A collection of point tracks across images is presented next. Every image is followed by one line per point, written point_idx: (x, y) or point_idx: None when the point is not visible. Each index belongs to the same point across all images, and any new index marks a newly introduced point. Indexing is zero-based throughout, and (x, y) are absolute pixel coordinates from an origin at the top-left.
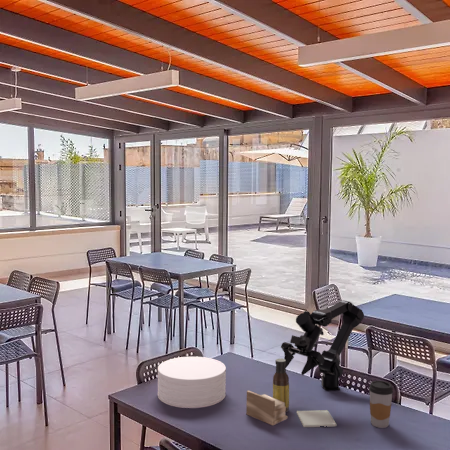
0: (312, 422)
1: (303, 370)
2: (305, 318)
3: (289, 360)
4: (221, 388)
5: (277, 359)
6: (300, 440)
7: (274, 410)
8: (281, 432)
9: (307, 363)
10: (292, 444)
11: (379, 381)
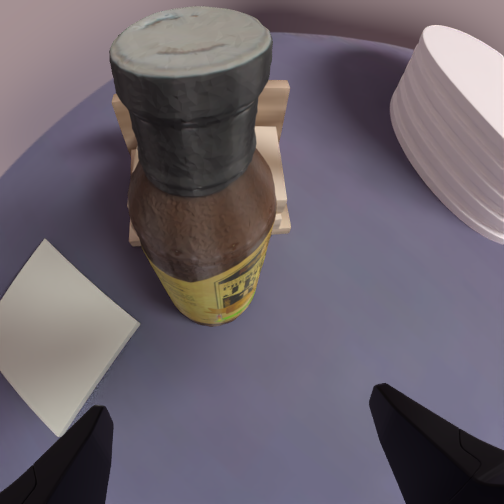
0: (32, 281)
1: (75, 430)
2: None
3: (420, 499)
4: (437, 142)
5: (244, 25)
6: (26, 173)
7: (122, 133)
8: (89, 159)
9: (21, 497)
10: (36, 144)
11: None
